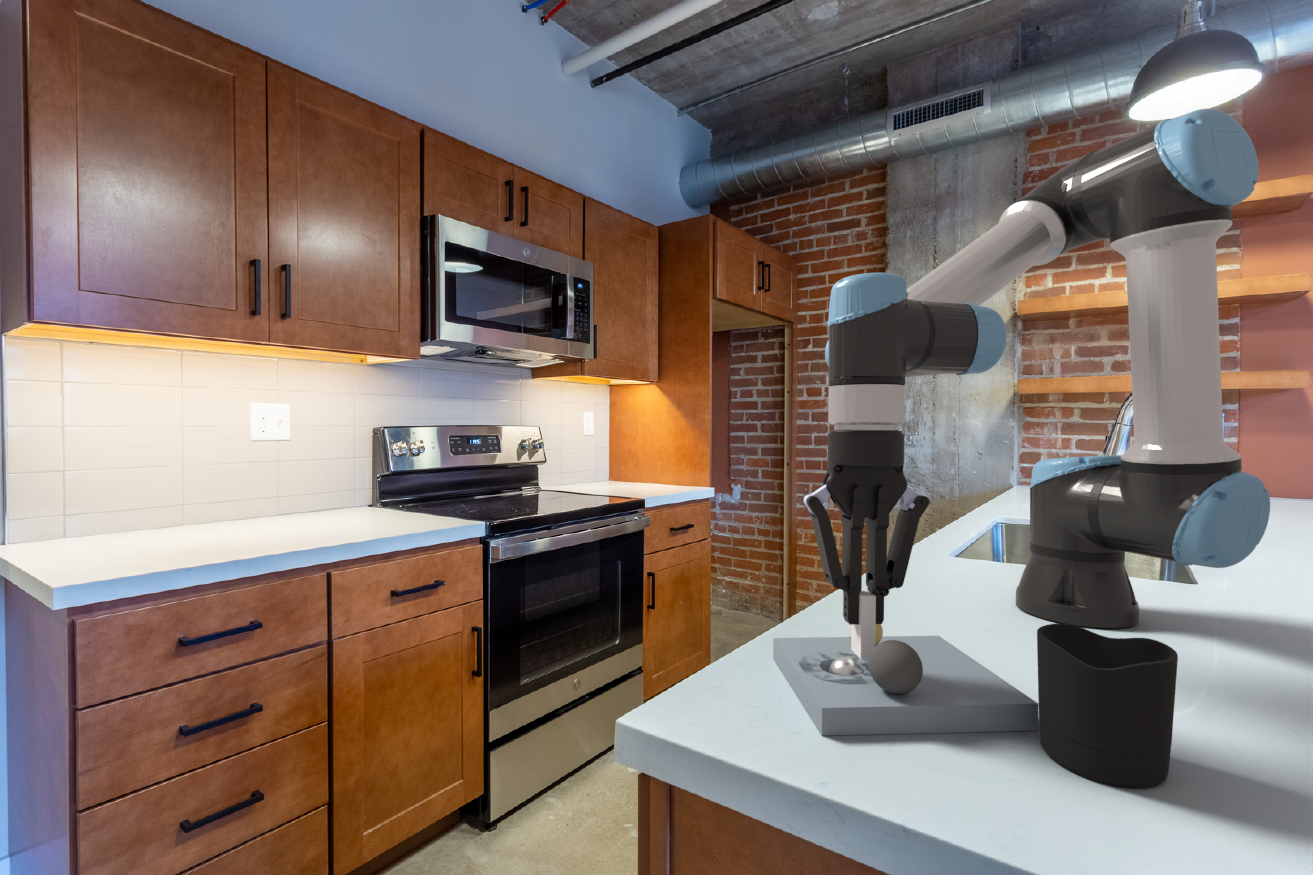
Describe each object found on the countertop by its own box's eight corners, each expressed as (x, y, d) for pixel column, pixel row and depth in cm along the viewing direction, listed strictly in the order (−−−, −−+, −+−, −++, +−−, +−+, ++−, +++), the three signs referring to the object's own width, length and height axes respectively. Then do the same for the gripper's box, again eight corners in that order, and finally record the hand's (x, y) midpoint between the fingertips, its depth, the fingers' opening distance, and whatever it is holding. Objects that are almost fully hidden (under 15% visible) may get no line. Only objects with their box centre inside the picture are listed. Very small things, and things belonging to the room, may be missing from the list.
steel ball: (861, 674, 67) (848, 646, 66) (874, 689, 63) (860, 659, 63) (832, 688, 67) (819, 660, 66) (843, 704, 63) (829, 674, 63)
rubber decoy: (908, 680, 61) (908, 632, 61) (932, 702, 57) (933, 650, 57) (860, 681, 61) (861, 633, 61) (880, 703, 56) (881, 651, 56)
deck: (938, 656, 75) (938, 635, 75) (1037, 730, 57) (1038, 703, 57) (773, 658, 74) (773, 637, 73) (821, 735, 56) (821, 707, 56)
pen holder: (1103, 729, 57) (1105, 621, 57) (1207, 788, 48) (1210, 660, 48) (1009, 736, 56) (1011, 625, 55) (1098, 799, 46) (1101, 666, 46)
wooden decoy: (875, 640, 73) (875, 610, 73) (887, 651, 69) (888, 620, 69) (845, 640, 73) (846, 610, 73) (857, 651, 69) (857, 620, 69)
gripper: (910, 427, 68) (907, 640, 69) (793, 427, 68) (791, 642, 68) (945, 428, 61) (942, 667, 61) (814, 428, 60) (812, 669, 61)
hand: (862, 653), depth 65 cm, fingers closed
